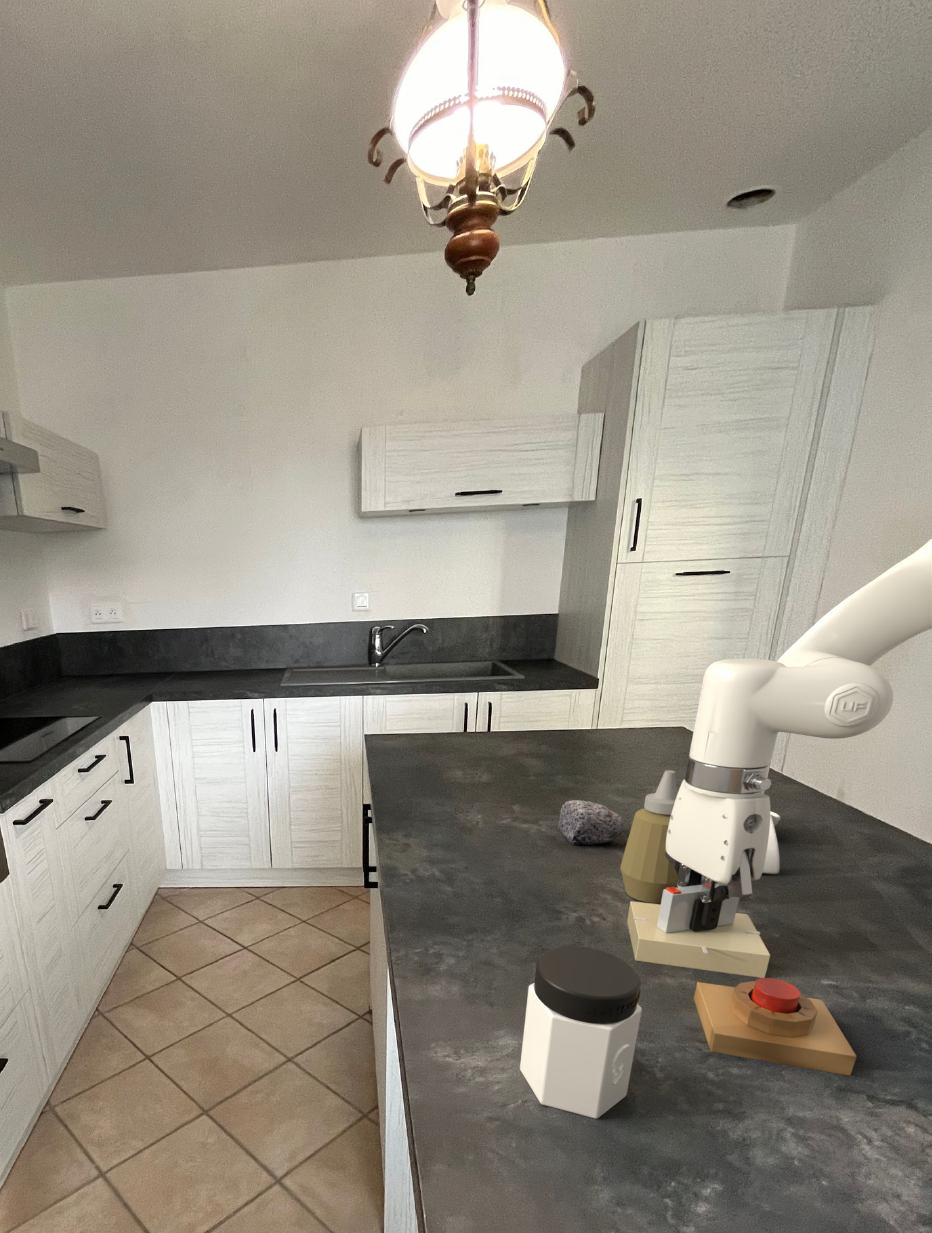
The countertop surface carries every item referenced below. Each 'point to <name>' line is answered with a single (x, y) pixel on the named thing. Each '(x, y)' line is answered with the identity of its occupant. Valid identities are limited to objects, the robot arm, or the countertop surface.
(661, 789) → the squeeze bottle
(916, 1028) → the countertop surface
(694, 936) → the base
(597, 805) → the pumice stone
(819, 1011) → the button block
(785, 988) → the button
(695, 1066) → the countertop surface
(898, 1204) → the countertop surface
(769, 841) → the spoon rest
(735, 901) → the red-tipped gray slab
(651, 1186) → the countertop surface
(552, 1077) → the jar
